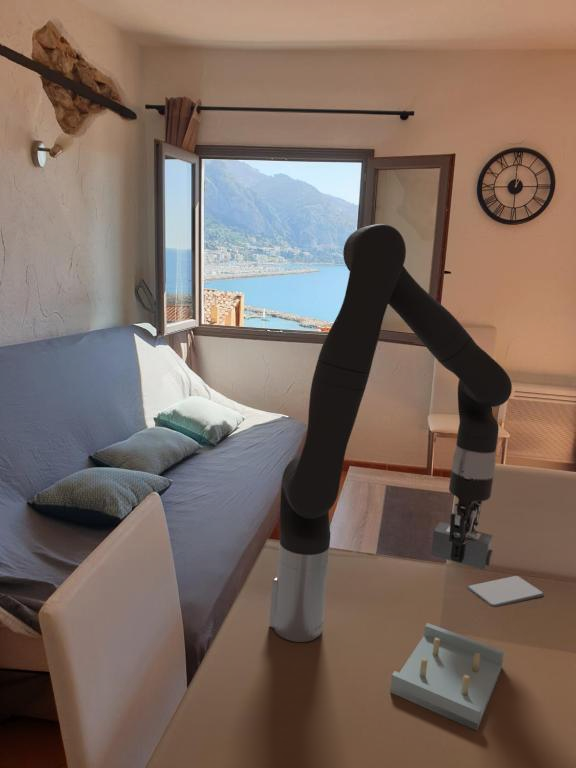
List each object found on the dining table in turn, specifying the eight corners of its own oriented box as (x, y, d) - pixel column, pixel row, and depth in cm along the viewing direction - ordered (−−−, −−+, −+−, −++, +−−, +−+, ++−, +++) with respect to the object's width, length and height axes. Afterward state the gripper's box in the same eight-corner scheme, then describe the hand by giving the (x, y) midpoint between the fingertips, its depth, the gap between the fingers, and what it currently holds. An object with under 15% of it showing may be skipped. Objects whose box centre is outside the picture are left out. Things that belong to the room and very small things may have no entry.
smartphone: (466, 585, 131) (517, 574, 137) (465, 589, 131) (516, 578, 137) (492, 605, 123) (545, 593, 129) (492, 609, 124) (544, 597, 130)
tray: (390, 692, 96) (392, 669, 95) (425, 638, 111) (427, 617, 110) (476, 730, 89) (480, 706, 88) (502, 667, 104) (505, 646, 103)
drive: (430, 555, 113) (434, 530, 112) (436, 545, 117) (440, 521, 116) (487, 570, 108) (491, 545, 107) (491, 560, 113) (495, 535, 112)
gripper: (462, 457, 117) (452, 536, 121) (441, 475, 105) (429, 563, 108) (501, 466, 114) (489, 547, 117) (483, 486, 101) (470, 576, 105)
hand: (460, 554), depth 113 cm, fingers closed on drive, 5 cm apart
